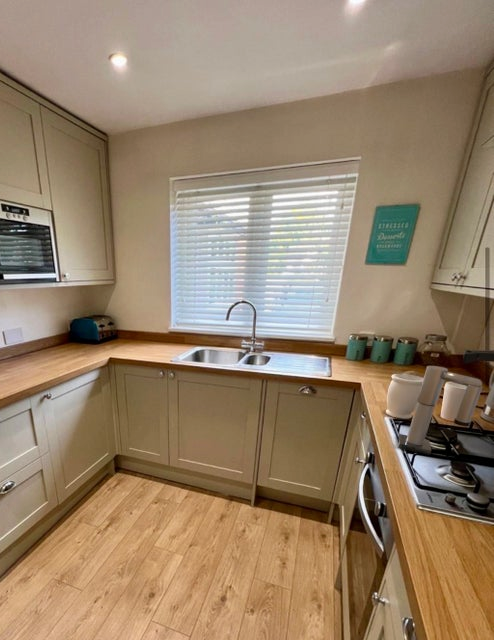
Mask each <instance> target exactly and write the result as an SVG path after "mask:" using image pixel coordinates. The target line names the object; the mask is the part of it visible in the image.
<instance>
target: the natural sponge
mask: <svg viewBox="0 0 494 640" xmlns="http://www.w3.org/2000/svg"><path fill="white" fill-rule="evenodd" d="M402 374H407V375H413V376H418V377H421V378H423V377H422V375H421V374H420V372H418V371H416V370H407V371H404V372H402Z"/></svg>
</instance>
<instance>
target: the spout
mask: <svg viewBox="0 0 494 640" xmlns="http://www.w3.org/2000/svg"><path fill="white" fill-rule="evenodd" d="M445 381H446V382H454V383H457V384H461V385H465V386H467V388H466V391H465V394H464V396H463V399H462V402H461V405H460V408H459V411H458V414H457V417H456V418H455V419H454V422H453V423H454V425H456V426H457V425H458V426H461V427H470V425H471V420H472V417H473V415H474V412H475V409H476V406H477V404H478V401H479V398H480V395H481V393H482V390H483V386H482V385H483V381H482V380H481V379H479V378H476V377H471V376H467V375H463V374H459V373H454V372H452V371H449V369H448V368H446V367H443V366H437V365H426V368H425V373H424V376H423V382H422V386H421V389H420V392H419V396H418V399H417V401H418V402H419V403H422V404H426V405H435V406H437V405H438V402H439V400H440V396H441V393H442V389H443V386H444V383H445Z"/></svg>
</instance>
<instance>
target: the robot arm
mask: <svg viewBox="0 0 494 640" xmlns="http://www.w3.org/2000/svg"><path fill="white" fill-rule="evenodd" d="M475 362H491V363H492V362H493V363H494V349H493V350H492V349H491V350H483V349H481V350H479V349H477V350H476V349H465V351H464V354H463V357H462V360H461V364H469V363H475Z"/></svg>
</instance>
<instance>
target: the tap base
mask: <svg viewBox="0 0 494 640" xmlns="http://www.w3.org/2000/svg"><path fill="white" fill-rule="evenodd" d="M435 408H436V405H426V404H422V403H419V402H417V405H416V408H415V410H414V411H413V415H412V419H411V423H410V425H409V429H408V432H407V434H402V433H399V434H398V438H397V442H398V445H397V446H398V447H397V448H398V449H403V450H406V451H409V452H410V451H411V452H415V453H419V454H424V455H427V456H431V453H432V448H431V442H430V440H429V439H426V437H427V433H428V430H429V428H430V427H429V426H430V424H431V421H432V418H433V415H434V412H435Z"/></svg>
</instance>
